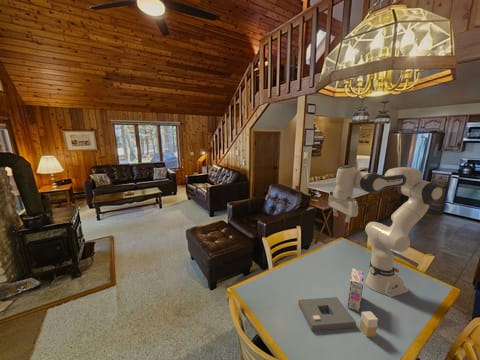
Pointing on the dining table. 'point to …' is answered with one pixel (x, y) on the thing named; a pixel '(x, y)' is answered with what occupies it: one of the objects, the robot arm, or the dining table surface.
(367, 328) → the cream and tan block
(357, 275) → the candy box
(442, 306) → the dining table surface
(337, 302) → the socket
